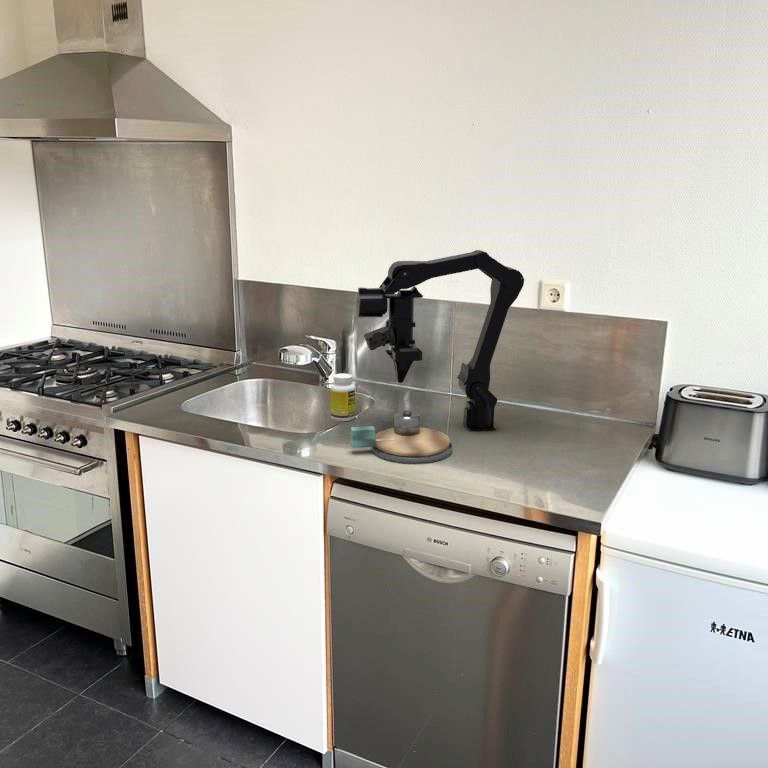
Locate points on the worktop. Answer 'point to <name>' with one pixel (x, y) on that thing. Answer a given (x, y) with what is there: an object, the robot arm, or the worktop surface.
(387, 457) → the base
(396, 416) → the cover
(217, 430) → the worktop surface
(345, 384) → the pill bottle
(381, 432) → the turntable
